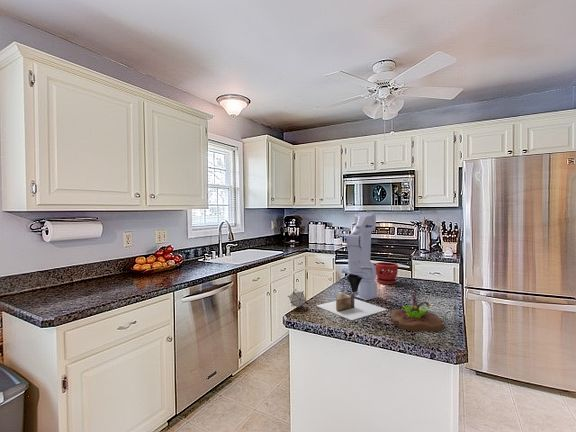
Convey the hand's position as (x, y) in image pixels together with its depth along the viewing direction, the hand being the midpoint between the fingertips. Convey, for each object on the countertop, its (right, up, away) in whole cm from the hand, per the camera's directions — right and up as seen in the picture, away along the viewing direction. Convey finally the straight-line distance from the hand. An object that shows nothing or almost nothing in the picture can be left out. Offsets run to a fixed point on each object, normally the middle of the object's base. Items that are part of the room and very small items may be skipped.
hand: (354, 291), depth 139 cm
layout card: (-1, -9, +6) cm, 11 cm away
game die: (-25, -9, +8) cm, 28 cm away
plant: (+22, -10, -11) cm, 27 cm away
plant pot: (+31, -8, +54) cm, 63 cm away
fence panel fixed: (-2, -9, +9) cm, 13 cm away
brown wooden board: (-4, -9, +3) cm, 10 cm away
